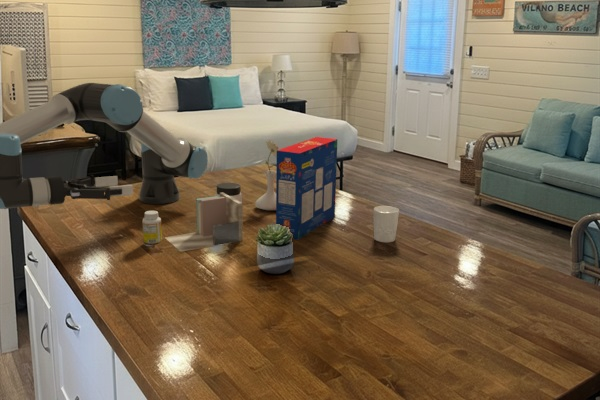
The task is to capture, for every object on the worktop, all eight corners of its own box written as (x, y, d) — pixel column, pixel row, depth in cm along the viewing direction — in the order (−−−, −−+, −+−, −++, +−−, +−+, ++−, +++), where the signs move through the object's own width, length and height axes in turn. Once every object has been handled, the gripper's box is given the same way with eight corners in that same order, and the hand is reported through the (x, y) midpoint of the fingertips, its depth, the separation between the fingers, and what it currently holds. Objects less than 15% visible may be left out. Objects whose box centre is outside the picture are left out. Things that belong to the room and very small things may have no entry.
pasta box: (314, 213, 220) (316, 136, 213) (334, 216, 217) (337, 139, 209) (275, 235, 197) (276, 150, 189) (297, 240, 193) (299, 153, 185)
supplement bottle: (154, 239, 191) (153, 208, 188) (166, 244, 187) (164, 212, 184) (139, 244, 187) (138, 212, 184) (151, 248, 183) (149, 216, 180)
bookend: (213, 244, 184) (212, 225, 183) (237, 240, 188) (237, 221, 187) (214, 245, 183) (214, 226, 182) (238, 241, 187) (238, 222, 186)
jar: (246, 220, 211) (245, 186, 208) (226, 224, 206) (225, 190, 203) (231, 213, 218) (231, 181, 215) (212, 217, 213) (211, 184, 210)
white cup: (398, 236, 198) (401, 207, 195) (394, 244, 191) (396, 214, 188) (375, 233, 200) (376, 204, 197) (369, 241, 193) (371, 211, 190)
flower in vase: (288, 212, 221) (289, 144, 214) (256, 213, 219) (256, 144, 212) (283, 202, 233) (283, 137, 226) (253, 203, 231) (253, 138, 224)
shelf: (164, 241, 190) (162, 200, 186) (223, 231, 200) (223, 192, 196) (180, 255, 178) (179, 212, 175) (242, 244, 188) (242, 203, 185)
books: (197, 232, 195) (196, 197, 192) (220, 228, 199) (219, 193, 196) (203, 236, 191) (202, 201, 187) (226, 232, 195) (226, 197, 192)
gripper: (38, 194, 177) (111, 189, 188) (58, 215, 157) (139, 207, 168) (36, 169, 175) (111, 165, 187) (57, 186, 155) (139, 180, 166)
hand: (124, 185), depth 177 cm, fingers open, 13 cm apart
